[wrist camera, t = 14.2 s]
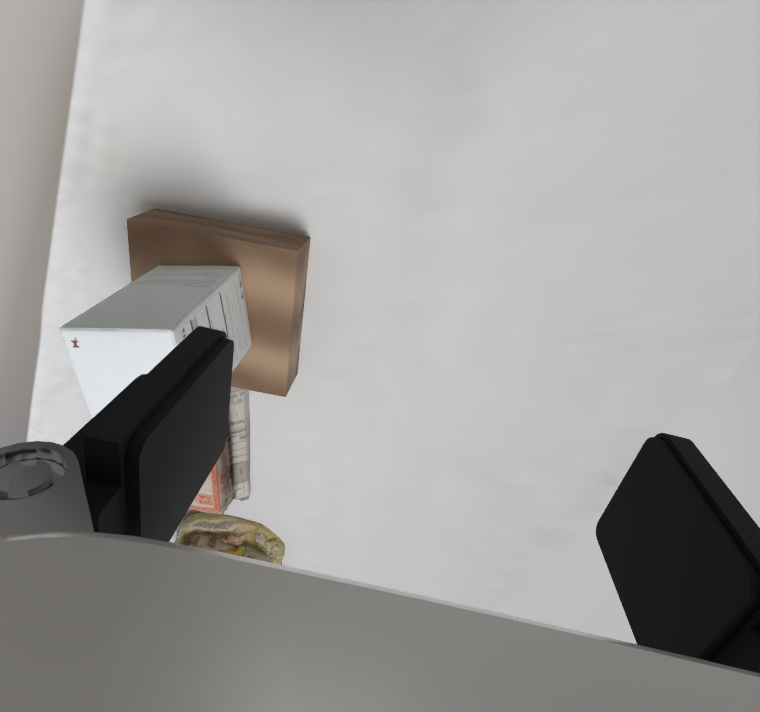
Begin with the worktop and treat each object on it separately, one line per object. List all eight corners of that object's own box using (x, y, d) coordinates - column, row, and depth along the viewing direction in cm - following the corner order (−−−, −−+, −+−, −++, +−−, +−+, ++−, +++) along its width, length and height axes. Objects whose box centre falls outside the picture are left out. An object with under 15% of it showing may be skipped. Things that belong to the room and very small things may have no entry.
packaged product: (239, 524, 54) (151, 511, 54) (253, 493, 58) (172, 481, 59) (232, 385, 46) (129, 371, 46) (249, 361, 50) (154, 348, 50)
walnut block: (157, 207, 44) (126, 219, 39) (311, 236, 43) (298, 251, 39) (164, 345, 50) (138, 369, 46) (298, 371, 50) (285, 396, 46)
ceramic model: (300, 536, 60) (277, 610, 52) (275, 590, 66) (250, 665, 57) (191, 497, 59) (148, 566, 50) (174, 555, 64) (132, 627, 55)
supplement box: (175, 342, 44) (88, 425, 33) (157, 262, 41) (53, 325, 29) (255, 345, 43) (194, 431, 32) (243, 264, 40) (170, 329, 29)
